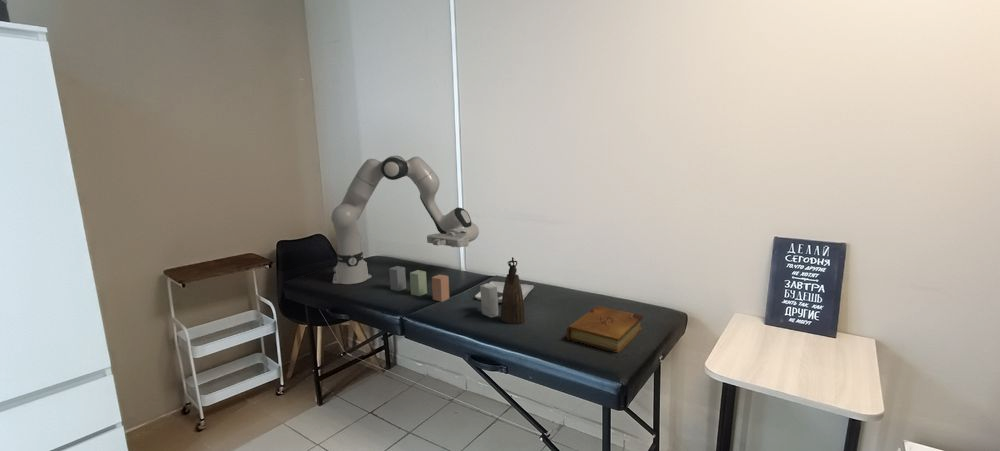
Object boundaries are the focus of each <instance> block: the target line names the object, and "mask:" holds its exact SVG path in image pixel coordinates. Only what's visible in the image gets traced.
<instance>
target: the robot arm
mask: <svg viewBox="0 0 1000 451" xmlns="http://www.w3.org/2000/svg"><path fill="white" fill-rule="evenodd" d="M403 177H408V178H409V179H410V180H411V181H412V182H413V184H414V185H415V186H416V188H417V190H418V191H419V199H420V201H421V203H422V205H423V207H424V209H425V210H426V211H427V213H428V214H429V216H430V218H431V219H432V221H433V223H434V225H435V228H436V229H437V232H438V233H432V234H428V235H427V236H426V241H427V243H428V244H431V245H433V246H438V247H439V246H446V247H451V248H463V247H466V248H467V247H469V244H470V242H471V243H472V242H473V241H475V240H476V239H477V238H478V237H479V234H480V229H479V227H478V225H476V224H475V223H474V222H473V221H472V220H471V216H470V213H469V212H468V211H467V210H466V209H464V208H462V207H455V208H454V209H452V210H451V211H449V212H448V213H446V214H445V215H444V214H443V213H442V211H441V209H440V207H439V205H437V203H436V201H435V200H436V199H435V198H436V194H437V192H438V191H439V188H440V182H441V181H440V178H439V176H438V175H437V173H436V172H435V171H434V170H433V169H432V167H431V166H430V165H429V164H428V163H427V162H426V161H425V160H424V159H423V158H421V157H419V156H412V157H411V158H409V159H407V160H405V159H404V158H403V157H402V156H400V155H391V156H388V157H387V158H385V159H384V160H383V161H380V160H378V159H376V158H368V159H366V160H365V161H364V163H363V164H362V165H361V166H360V168H359V169H358V171H357V172H356V174H355V176H354V177H353V179H352V181H351V182H350V184H349V186H348V187H347V189H346V190H347V191H346V192H345V195H344V196H343V199H342V200H341V203H340V204H339V205H338V206H336V207H335V208H334V209H333V211H332V212H331V217H330V218H331V221H332V225H333V228H334V232H335V233H334V234H335V236H336V243H337V245H336V246H337V255H336V256H337V263H336V266H334V267H333V272H334V274H333V277H332V284H340V285H341V284H342V285H354V284H359V283H362V282H365V281H367V280H369V279H371V278H372V275H371V274H370V273H368V272H369V271H368V265H367V264H368V262H367V261H366V260H364V252H363V251H362V239H361V238H362V237H361V234H360V232H359V227H358V220H359V219H360V218H361V215H362V214H363V212H364V210H365V208H366V206H367V204H368V203H369V200H370V199H371V197H372V195H373V194H374V192H375V190H376V188H377V186H378V185H379V183H380V181H381V180H382V179H383V178H386V179H387V180H392V181H396V180H400V179H401V178H403Z"/></svg>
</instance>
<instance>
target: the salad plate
mask: <svg viewBox="0 0 1000 451" xmlns="http://www.w3.org/2000/svg"><path fill="white" fill-rule="evenodd" d="M489 284H491V285H494V286H497V293H500V294H501V293H502V294H503V289H504V284H505V281H494V280H491V281H490V282H489ZM520 284H521V288H522V294H523V301H524V300H525V299H526V297H527V296H528V294H529V293H530V292H531V291H532V290H533V289H534V288H535V286H534V285H532V284H531V285H530V284H525V283H523V284H522V283H520ZM474 297H475V299H477V300H478V301H481V291H479V292H478V293H476V294H475V295H474ZM498 304H502V295H500V296H498Z"/></svg>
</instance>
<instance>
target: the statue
mask: <svg viewBox="0 0 1000 451" xmlns="http://www.w3.org/2000/svg"><path fill="white" fill-rule="evenodd" d="M507 265H508V267H509V269H508V273H507V274H506V277H505V281H504V282H505V284H504V289H503V293H502V295H501V296H502V303H501V306H500V307H501V309H500V320H501V321H502V322H504V323H507V324H511V325H512V324H513V325H518V324H523V323H525V321H526V317H525V315H526V314H525V304H524V302H525V301H524V300H523V294H522V288H521V284H522V283H521V280H520V277H519V274H518V273H517V265H518V261H517V260H515V258H514V257H511V260H510V261H507Z"/></svg>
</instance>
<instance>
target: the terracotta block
mask: <svg viewBox="0 0 1000 451" xmlns="http://www.w3.org/2000/svg"><path fill="white" fill-rule="evenodd" d="M449 279H450V278H449V275H445V274H436V275H434V276H431V288H432V300H433V301H437V302H441V303H442V302H444V301H447V300H449V299H450V282H449Z"/></svg>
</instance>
